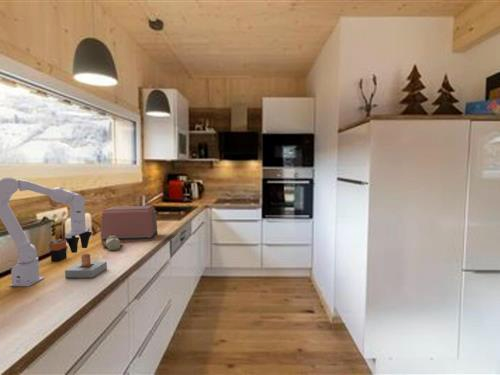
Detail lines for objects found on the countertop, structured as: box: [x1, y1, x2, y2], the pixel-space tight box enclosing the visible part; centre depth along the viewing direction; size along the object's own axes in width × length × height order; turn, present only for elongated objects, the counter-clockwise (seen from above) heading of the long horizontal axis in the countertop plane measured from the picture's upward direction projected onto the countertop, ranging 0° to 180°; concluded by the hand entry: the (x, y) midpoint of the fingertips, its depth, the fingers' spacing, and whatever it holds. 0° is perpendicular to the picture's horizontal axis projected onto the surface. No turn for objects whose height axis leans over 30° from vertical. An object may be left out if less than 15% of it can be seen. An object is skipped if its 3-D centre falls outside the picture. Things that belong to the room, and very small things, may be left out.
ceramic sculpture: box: [101, 234, 123, 251], centre depth 182 cm, size 11×9×15 cm
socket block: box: [64, 261, 108, 280], centre depth 140 cm, size 12×12×4 cm
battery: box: [49, 238, 67, 262], centre depth 162 cm, size 4×7×10 cm, turn 0°
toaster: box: [100, 205, 159, 243], centre depth 205 cm, size 19×34×20 cm, turn 95°
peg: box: [80, 253, 92, 268], centre depth 140 cm, size 4×4×8 cm
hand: (79, 250), depth 143 cm, fingers open, 7 cm apart
